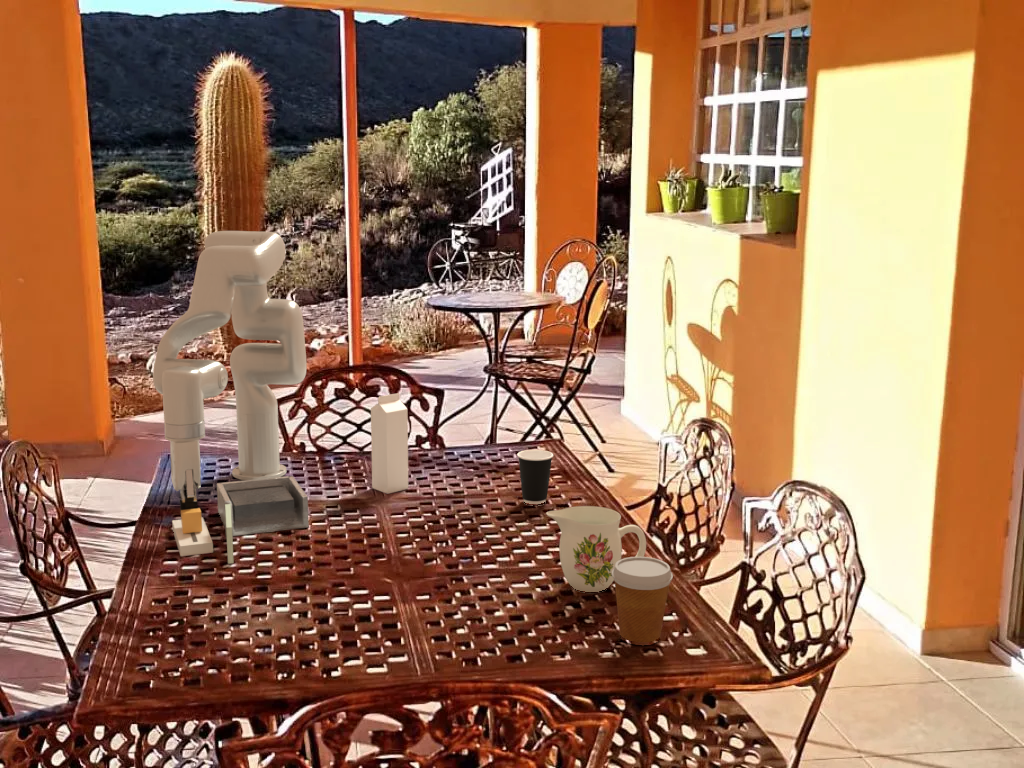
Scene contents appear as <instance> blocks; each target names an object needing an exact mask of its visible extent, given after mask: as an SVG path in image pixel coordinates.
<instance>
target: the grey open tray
mask: <svg viewBox="0 0 1024 768" xmlns="http://www.w3.org/2000/svg"><path fill="white" fill-rule="evenodd" d="M216 493H217V494H216V495H217V496H216V497H217V513H219V514H218V515H220V516H219V518H220V517H221V518H220V521H221V522H223V523H222V524H223V527H224V528H225V511H224V502H225V501H231V504H232V526H233V537H237V536H243V535H244V536H245V535H246V536H247V535H253V534H262V533H270V532H279V531H287V530H296V529H305V528H309V501H308V500H309V497H308V495H307V494H306V493H305V491H304V489H302V487H301V485H300V484H299V483H298V481H297V480H296V478H295V477H294V476H293V475H290V476H289V475H288V476H281V477H275V478H265V479H255V480H238V481H229V482H228V481H226V482H217V483H216Z"/></svg>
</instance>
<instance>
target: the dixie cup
mask: <svg viewBox="0 0 1024 768" xmlns="http://www.w3.org/2000/svg"><path fill="white" fill-rule="evenodd" d="M516 455H517V457H518V464H519V476H520V477H519V478H520V485H521V495H522V499H523V503H524V502H525V503H529V504H541V503H544V502H545V503H546V501H547V497H548V493H549V483H550V477H551V469H552V468H551V467H552V461H553V460H552V459H553V458H554V454H553V452H551V451H548V450H544V449H543V450H542V449H526V450H522V451H521V450H520V451H519V452H518V453H517V454H516ZM525 503H524V504H525Z"/></svg>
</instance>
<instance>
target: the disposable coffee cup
mask: <svg viewBox="0 0 1024 768" xmlns="http://www.w3.org/2000/svg"><path fill="white" fill-rule="evenodd" d="M673 575H674V574H673V572H672V571H671V567H670V565H669V564H668V563H667V562H665V561H664V560H661V559H658V558H654V557H649V556H644V557H635V556H630V557H624V558H621V560H619V561H617V562H616V563H615V567H614V569H613V570H612V576H613V579H614V580H613V582H614V588H615V596H616V597H615V599H616V608H617V609H616V610H617V620H618V627H619V628H618V629H619V631H618V632H619V636H620V635H621V636H622V637H623V638H625V639H627V640H630V641H636V642H650V641H654V640H656V639H658V638H659V637H660V638H661V634H662V628H663V624H664V616H665V611H666V604H667V599H668V595H669V587H670V584H671V582H672V581H673V577H674V576H673Z"/></svg>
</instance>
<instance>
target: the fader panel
mask: <svg viewBox="0 0 1024 768" xmlns="http://www.w3.org/2000/svg"><path fill="white" fill-rule="evenodd" d="M201 517H202V516H201ZM171 521H172V522H171V523H172V533H173V532H174V533H173V535H174V539H175V542H176V546H177V550H178V552H179V557H186V556H195V555H201V554H202V555H203V554H210V553H211V554H212V553H214V543H213V540H212V538H211V535H210V532H209V530H208V527H207V524H206V522H205V519H204V517H202V531H201V532H192V533H183V532H182V523H181V519H175V520H174V519H173V520H171Z"/></svg>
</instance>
